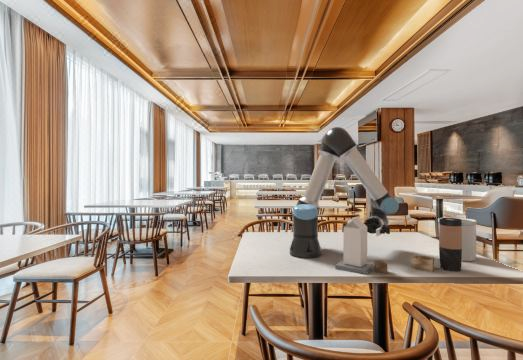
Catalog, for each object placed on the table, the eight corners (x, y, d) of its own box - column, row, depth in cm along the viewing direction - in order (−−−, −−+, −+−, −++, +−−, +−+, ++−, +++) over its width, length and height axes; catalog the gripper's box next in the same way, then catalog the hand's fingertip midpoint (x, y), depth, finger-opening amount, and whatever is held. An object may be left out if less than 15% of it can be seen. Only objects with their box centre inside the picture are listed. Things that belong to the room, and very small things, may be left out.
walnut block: (376, 273, 110) (376, 262, 110) (374, 270, 113) (374, 260, 113) (387, 274, 109) (387, 263, 109) (385, 271, 112) (385, 260, 112)
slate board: (335, 268, 115) (335, 264, 115) (345, 261, 125) (345, 258, 125) (366, 274, 108) (366, 270, 108) (373, 266, 118) (373, 262, 118)
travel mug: (465, 272, 110) (465, 220, 110) (443, 271, 112) (443, 219, 112) (456, 266, 118) (456, 217, 118) (436, 265, 119) (435, 217, 120)
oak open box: (412, 269, 115) (412, 258, 115) (414, 265, 121) (414, 254, 121) (432, 272, 111) (432, 261, 111) (434, 267, 117) (434, 257, 117)
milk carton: (367, 263, 117) (367, 217, 117) (360, 267, 112) (360, 218, 112) (350, 260, 122) (350, 215, 122) (343, 264, 116) (343, 217, 116)
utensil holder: (442, 260, 127) (442, 220, 128) (434, 252, 141) (434, 216, 141) (482, 263, 122) (482, 222, 122) (470, 254, 136) (470, 218, 136)
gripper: (401, 235, 133) (391, 243, 115) (348, 230, 147) (332, 236, 130) (401, 219, 133) (391, 224, 115) (348, 215, 147) (332, 220, 130)
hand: (360, 231), depth 123 cm, fingers open, 13 cm apart
